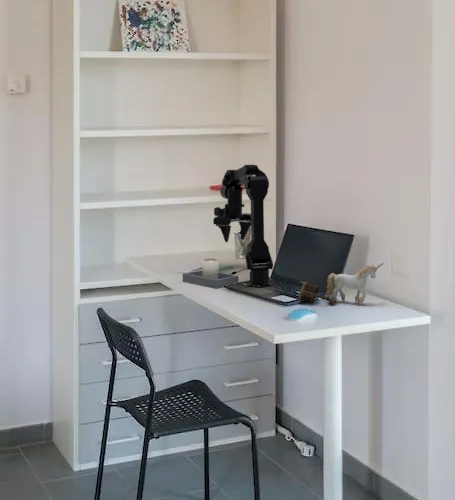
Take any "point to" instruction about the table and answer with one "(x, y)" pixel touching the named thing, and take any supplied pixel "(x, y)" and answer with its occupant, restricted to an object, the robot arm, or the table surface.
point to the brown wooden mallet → (313, 294)
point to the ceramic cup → (210, 268)
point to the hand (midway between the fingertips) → (234, 240)
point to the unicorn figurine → (351, 282)
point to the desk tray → (220, 282)
